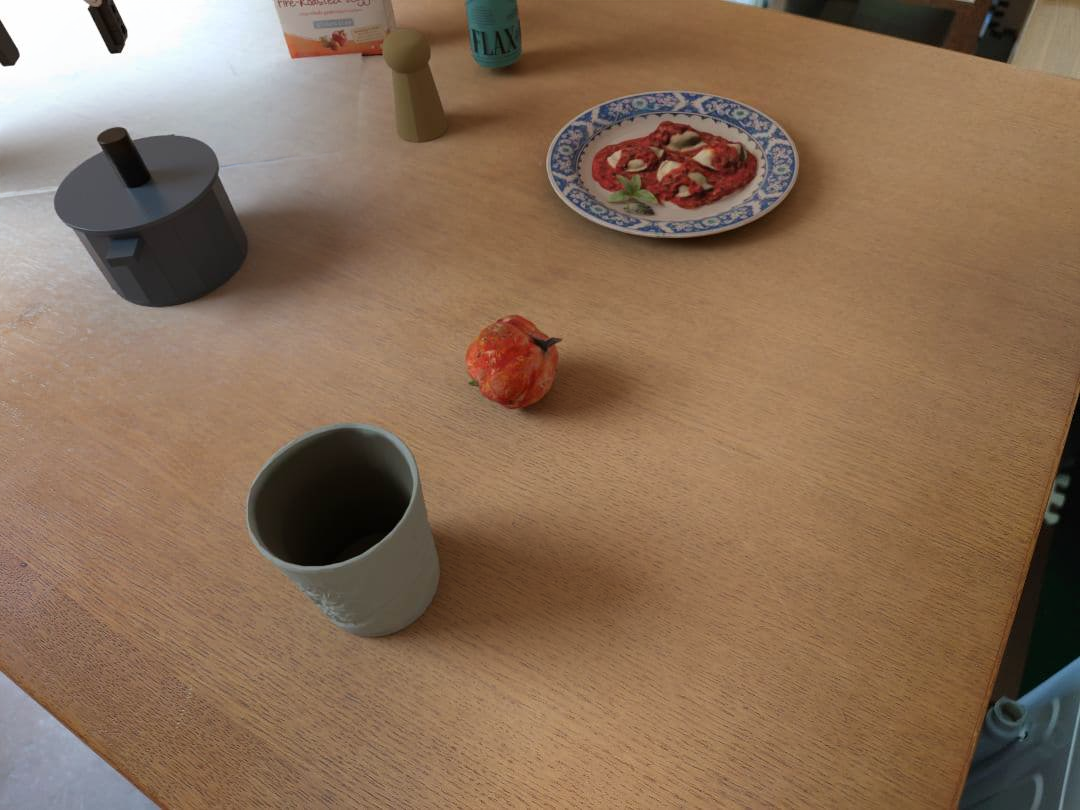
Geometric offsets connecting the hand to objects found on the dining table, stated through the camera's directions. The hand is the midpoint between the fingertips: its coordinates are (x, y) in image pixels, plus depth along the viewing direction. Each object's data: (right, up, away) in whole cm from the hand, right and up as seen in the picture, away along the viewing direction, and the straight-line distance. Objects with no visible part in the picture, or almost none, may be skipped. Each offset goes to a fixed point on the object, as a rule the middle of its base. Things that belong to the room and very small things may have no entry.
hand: (65, 55), depth 62 cm
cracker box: (+12, +20, +43) cm, 49 cm away
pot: (+2, -13, +16) cm, 21 cm away
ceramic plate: (+52, -4, +20) cm, 56 cm away
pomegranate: (+36, -27, +2) cm, 45 cm away
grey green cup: (+27, -41, -8) cm, 49 cm away
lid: (+1, -8, +9) cm, 12 cm away
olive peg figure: (+24, +4, +29) cm, 38 cm away
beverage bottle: (+33, +15, +37) cm, 51 cm away
